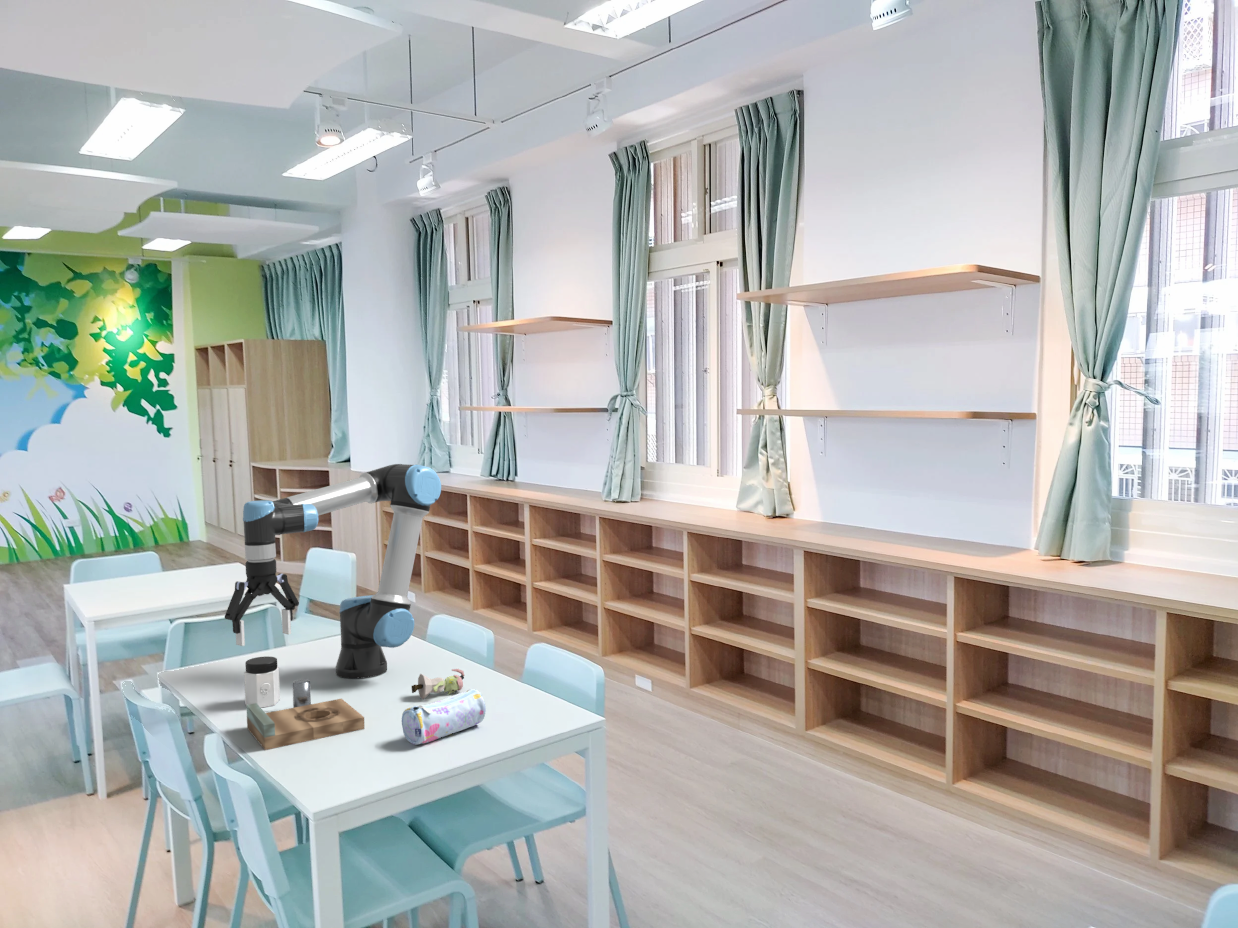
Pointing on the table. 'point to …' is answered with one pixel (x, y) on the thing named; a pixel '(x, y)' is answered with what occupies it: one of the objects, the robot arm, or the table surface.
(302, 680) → the grey metal cylinder
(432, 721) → the pencil case
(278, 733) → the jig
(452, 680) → the figurine
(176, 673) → the table surface
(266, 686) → the jar
